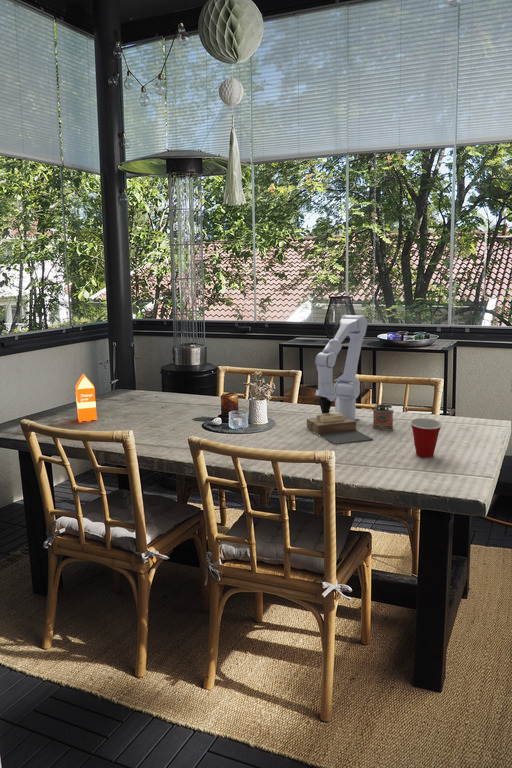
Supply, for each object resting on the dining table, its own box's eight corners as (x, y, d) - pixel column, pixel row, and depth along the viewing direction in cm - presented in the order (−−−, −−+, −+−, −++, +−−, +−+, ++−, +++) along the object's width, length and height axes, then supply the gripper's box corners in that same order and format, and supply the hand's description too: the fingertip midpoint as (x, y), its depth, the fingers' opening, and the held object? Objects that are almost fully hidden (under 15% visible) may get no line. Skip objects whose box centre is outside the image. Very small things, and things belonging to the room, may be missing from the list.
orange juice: (95, 416, 300) (92, 372, 296) (97, 420, 291) (93, 375, 287) (77, 417, 297) (74, 373, 293) (78, 422, 289) (75, 376, 285)
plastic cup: (422, 461, 224) (423, 427, 221) (402, 453, 233) (403, 420, 231) (448, 457, 228) (449, 423, 225) (428, 449, 238) (429, 416, 235)
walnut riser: (306, 428, 270) (306, 418, 269) (342, 424, 275) (342, 414, 274) (319, 435, 259) (318, 425, 258) (356, 431, 264) (356, 421, 263)
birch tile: (316, 419, 268) (316, 414, 268) (336, 416, 271) (336, 412, 271) (322, 422, 263) (322, 417, 262) (343, 420, 266) (343, 415, 265)
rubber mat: (319, 435, 259) (319, 434, 259) (356, 431, 264) (356, 430, 264) (334, 444, 246) (334, 443, 246) (373, 440, 251) (373, 438, 251)
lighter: (372, 428, 267) (372, 404, 265) (373, 426, 270) (373, 402, 268) (392, 429, 265) (392, 405, 263) (393, 427, 268) (394, 403, 266)
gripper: (309, 380, 274) (309, 412, 276) (323, 386, 260) (323, 420, 263) (324, 378, 276) (324, 410, 278) (340, 384, 262) (340, 418, 265)
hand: (325, 415), depth 271 cm, fingers closed
